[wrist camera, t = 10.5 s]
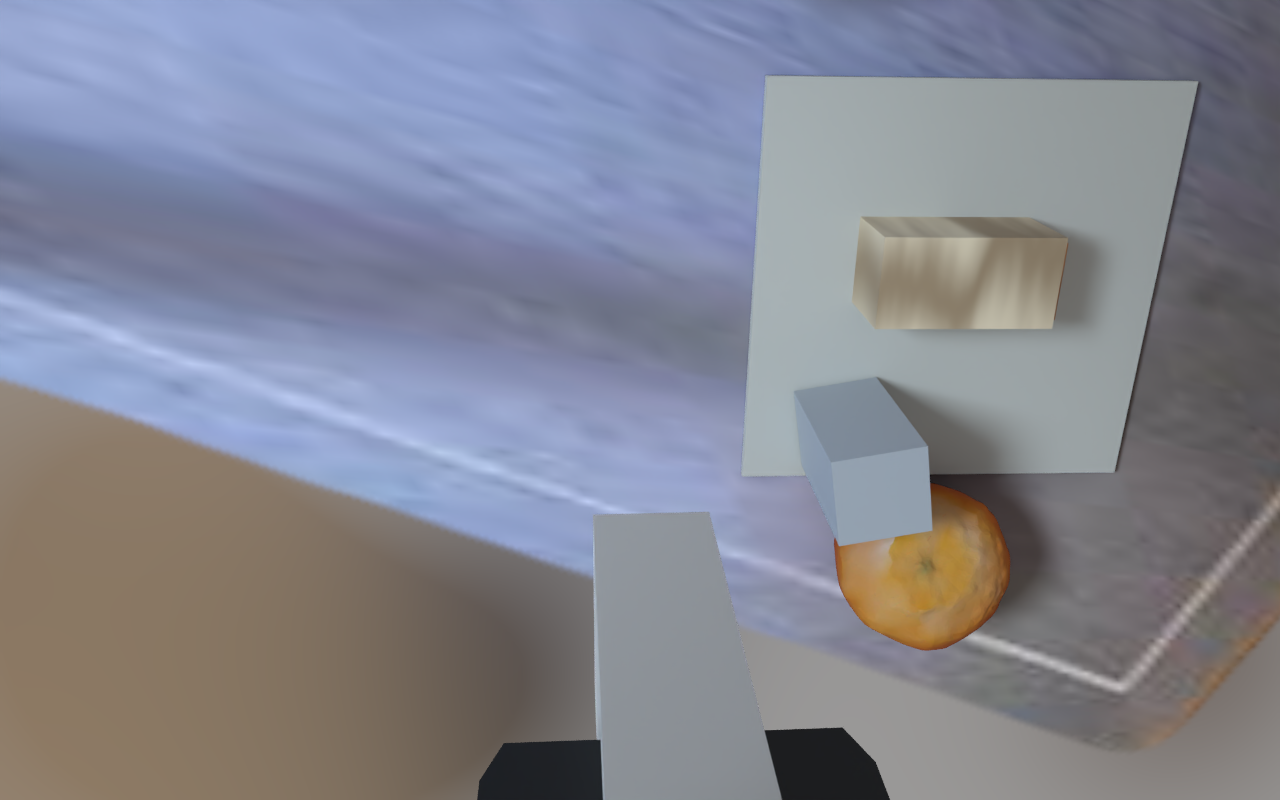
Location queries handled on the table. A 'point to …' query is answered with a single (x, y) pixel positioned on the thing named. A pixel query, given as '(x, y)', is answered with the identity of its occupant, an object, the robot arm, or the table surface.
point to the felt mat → (962, 187)
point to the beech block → (958, 272)
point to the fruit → (929, 575)
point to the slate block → (863, 461)
